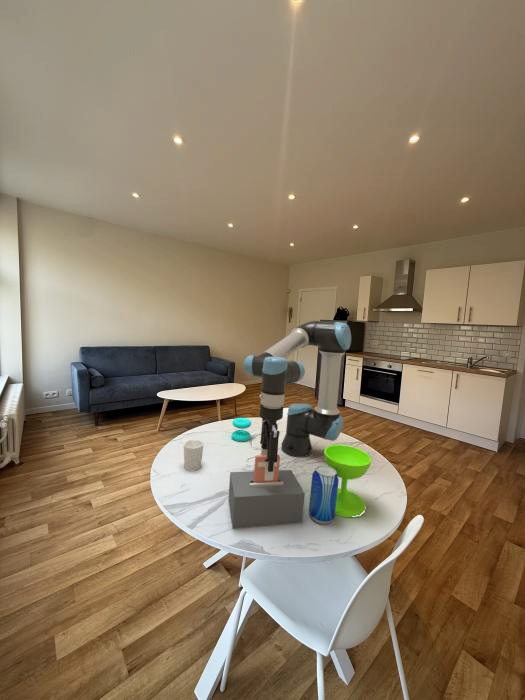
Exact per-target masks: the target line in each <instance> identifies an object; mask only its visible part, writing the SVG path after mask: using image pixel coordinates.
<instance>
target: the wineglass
mask: <svg viewBox="0 0 525 700" xmlns="http://www.w3.org/2000/svg"><path fill="white" fill-rule="evenodd" d="M323 450H324V451H323V453H324V454H323V456H324V460H325V463H326V466H329V467H332V468H333V469H335V470H336V474H337V476H338V478H340V479H341V484H340V485H341V487H338V491H337V500H336V509H335V514H336V515H335V516H338V515H339V516H338V517H341V516H343V517H342V518H346V517H352V516H356V515H360V514H361V513H362V512H363V511H364V510H365V506H366V504H364V503H365V502H363V501H364V500H363V499H362V498H361V496H359V495H358V494H356V493H354V492H353V491H351V490H349V489H347V488H348V480H349V481H350V480H355V479H359V478H361V477H362V476H363V475H365V474H366V473H367V472H368V470H369V469H370V467H371V463H372V457H371V456H370V455H369V454H368V453H367V452H365V450H361V449H359V448H357V447H355V446H351V445H350V446H349V445H344V444H332V445H331V444H330V445H329V446H327V447H325V448H324V449H323Z"/></svg>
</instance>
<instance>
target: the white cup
mask: <svg viewBox="0 0 525 700" xmlns="http://www.w3.org/2000/svg"><path fill="white" fill-rule="evenodd" d="M203 452H204V442H203V441H201V440H198V439H190V440H187V441H185V442H184V443H183V462H184V465H183V467H184V470H186V471H188V472H193V471H197V470H200V469H201V467H202V461H203V460H202V459H203V454H204V453H203Z"/></svg>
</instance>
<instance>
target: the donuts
mask: <svg viewBox="0 0 525 700" xmlns="http://www.w3.org/2000/svg"><path fill="white" fill-rule="evenodd" d="M231 423H232V425H233V427H234V428H237V429H236V430H234V431H232V433H231V438H232V439H233V440H234V441H236V442H247V441H249V440H250V439H251V433H250V432H249V431H248V430H245V429H249V428H250V427H251V426H252V421H251V420H250V419H249V418H247V417H236V418H234V419H233V420H232V422H231Z"/></svg>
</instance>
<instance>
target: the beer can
mask: <svg viewBox="0 0 525 700" xmlns="http://www.w3.org/2000/svg"><path fill="white" fill-rule="evenodd" d="M339 481H340V480H339V477H338V476H337V474H336V470H335V469H333V468H332V467H329V466H328V465H323V464H322V465H317V466H316V467H315V470H314V471H312V474H311V483H310V484H311V485H310V493H309V494H310V495H309V503H308V513H309V515H310V518H311V519H312V520H313V521H315V522H316V523H318V524H322V525H328V524H329V523H332V521H333V520H335V517H336V515H335V509H336V500H337V491H338V488H339Z"/></svg>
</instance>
